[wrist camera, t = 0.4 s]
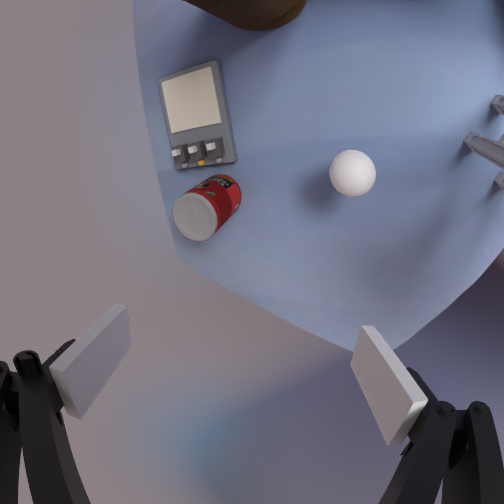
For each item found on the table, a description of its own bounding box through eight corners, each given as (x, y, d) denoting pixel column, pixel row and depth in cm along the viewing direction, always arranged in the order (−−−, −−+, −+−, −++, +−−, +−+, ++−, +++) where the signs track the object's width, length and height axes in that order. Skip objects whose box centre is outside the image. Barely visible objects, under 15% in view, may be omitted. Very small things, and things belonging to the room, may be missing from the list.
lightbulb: (329, 173, 41) (322, 196, 32) (336, 136, 38) (332, 148, 29) (366, 183, 40) (370, 209, 31) (375, 147, 36) (383, 162, 28)
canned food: (238, 170, 46) (208, 191, 37) (246, 213, 50) (220, 242, 41) (200, 175, 49) (166, 196, 40) (210, 214, 53) (179, 242, 44)
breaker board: (161, 79, 41) (147, 79, 37) (219, 60, 36) (207, 58, 33) (179, 167, 49) (167, 174, 46) (237, 160, 45) (227, 166, 42)
